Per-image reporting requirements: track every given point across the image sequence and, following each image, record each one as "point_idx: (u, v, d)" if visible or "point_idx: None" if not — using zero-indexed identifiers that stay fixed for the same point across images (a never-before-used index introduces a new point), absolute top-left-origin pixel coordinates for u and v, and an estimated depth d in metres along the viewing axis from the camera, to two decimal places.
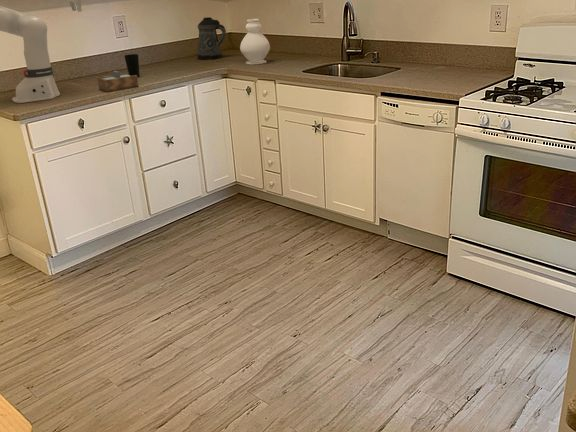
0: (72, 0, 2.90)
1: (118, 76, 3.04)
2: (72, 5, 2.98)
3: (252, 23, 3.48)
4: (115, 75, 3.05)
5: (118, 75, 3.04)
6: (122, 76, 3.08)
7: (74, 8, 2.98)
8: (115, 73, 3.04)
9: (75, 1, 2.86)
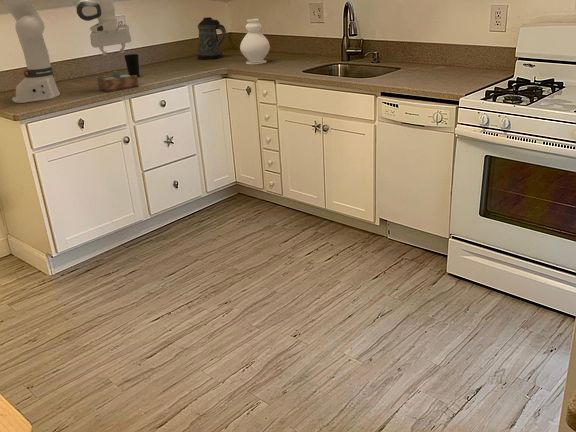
0: None
1: (118, 76, 3.04)
2: (122, 47, 3.03)
3: (252, 23, 3.48)
4: (115, 75, 3.05)
5: (118, 75, 3.04)
6: (122, 76, 3.08)
7: (120, 50, 3.03)
8: (115, 73, 3.04)
9: None
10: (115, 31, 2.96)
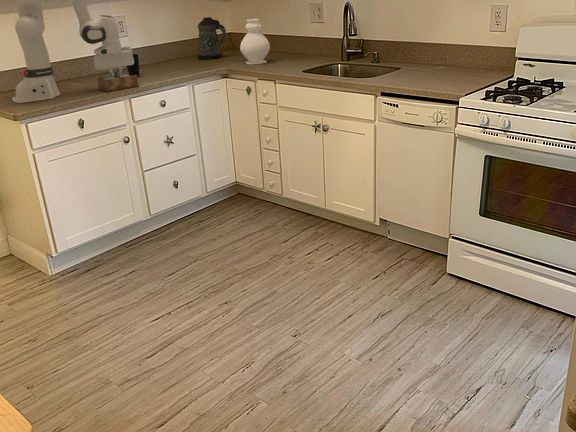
0: None
1: (118, 76, 3.04)
2: (119, 70, 3.06)
3: (252, 23, 3.48)
4: None
5: (118, 75, 3.04)
6: (122, 76, 3.08)
7: None
8: None
9: None
10: (118, 54, 3.01)
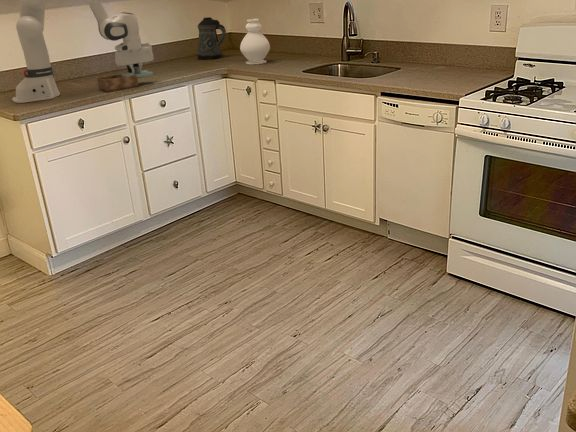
0: None
1: (138, 72, 3.10)
2: (139, 66, 3.12)
3: (252, 23, 3.48)
4: None
5: (138, 71, 3.10)
6: (142, 72, 3.14)
7: None
8: None
9: None
10: (139, 50, 3.07)
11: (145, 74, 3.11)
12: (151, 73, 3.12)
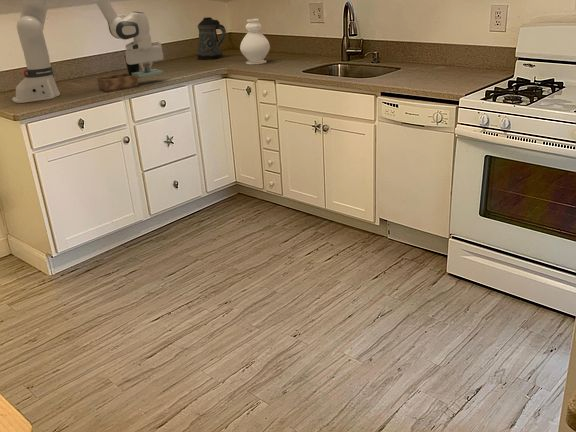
0: None
1: (148, 70, 3.13)
2: (149, 65, 3.15)
3: (252, 23, 3.48)
4: None
5: (148, 69, 3.13)
6: (152, 70, 3.17)
7: None
8: None
9: None
10: (149, 49, 3.10)
11: (155, 73, 3.14)
12: (161, 72, 3.16)
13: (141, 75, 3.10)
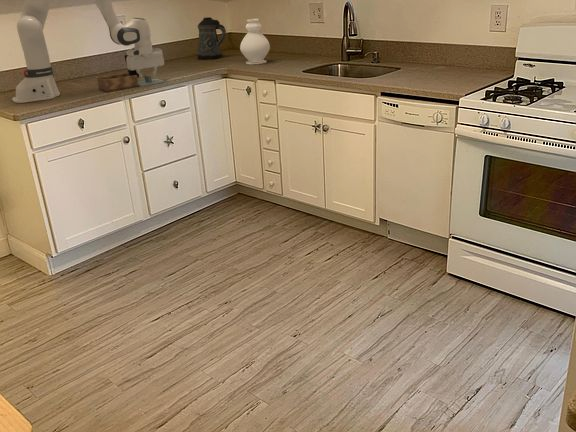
0: None
1: (150, 80, 3.15)
2: (154, 70, 3.18)
3: (252, 23, 3.48)
4: (147, 79, 3.16)
5: (150, 79, 3.15)
6: (153, 80, 3.19)
7: (152, 73, 3.18)
8: (147, 77, 3.16)
9: None
10: (150, 55, 3.11)
11: (156, 82, 3.16)
12: (162, 81, 3.18)
13: (142, 85, 3.12)
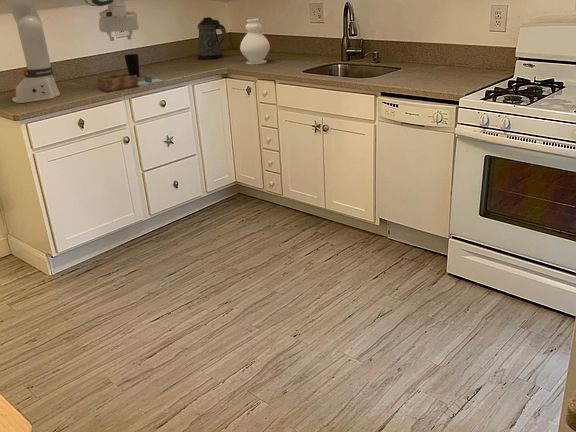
0: None
1: (150, 80, 3.15)
2: (129, 34, 3.13)
3: (252, 23, 3.48)
4: (147, 79, 3.16)
5: (150, 79, 3.15)
6: (153, 80, 3.19)
7: (127, 37, 3.12)
8: (147, 77, 3.16)
9: None
10: (123, 18, 3.06)
11: (156, 82, 3.16)
12: (162, 81, 3.18)
13: (142, 85, 3.12)
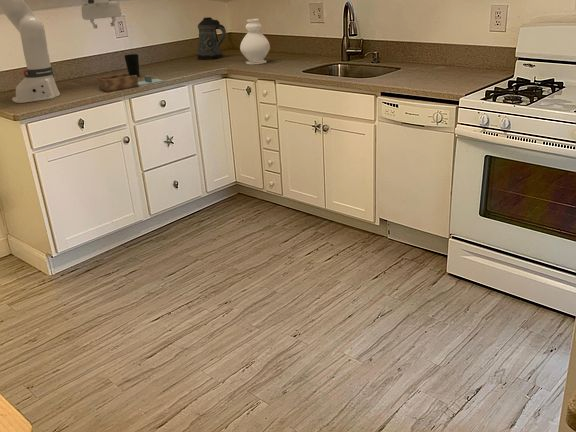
0: None
1: (150, 80, 3.15)
2: (112, 21, 3.12)
3: (252, 23, 3.48)
4: (147, 79, 3.16)
5: (150, 79, 3.15)
6: (153, 80, 3.19)
7: (111, 24, 3.12)
8: (147, 77, 3.16)
9: None
10: (106, 4, 3.05)
11: (156, 82, 3.16)
12: (162, 81, 3.18)
13: (142, 85, 3.12)
